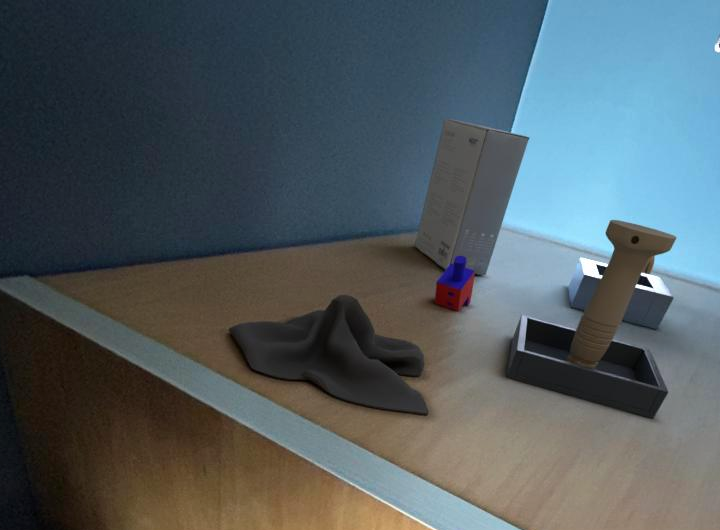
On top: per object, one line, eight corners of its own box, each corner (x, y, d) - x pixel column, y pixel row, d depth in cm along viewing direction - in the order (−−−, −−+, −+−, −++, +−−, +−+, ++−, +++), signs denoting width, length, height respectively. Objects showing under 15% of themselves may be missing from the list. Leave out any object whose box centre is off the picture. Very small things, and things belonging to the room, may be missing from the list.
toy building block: (433, 312, 80) (437, 263, 73) (447, 294, 81) (452, 244, 74) (456, 321, 79) (463, 272, 72) (470, 302, 80) (477, 252, 73)
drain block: (645, 307, 98) (660, 277, 95) (657, 329, 87) (674, 297, 84) (568, 287, 100) (580, 257, 97) (570, 307, 89) (584, 274, 86)
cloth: (195, 344, 54) (196, 278, 50) (306, 308, 67) (313, 254, 64) (397, 438, 46) (416, 368, 43) (477, 376, 60) (497, 319, 56)
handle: (556, 354, 68) (615, 218, 59) (609, 374, 66) (679, 235, 57) (545, 365, 64) (605, 221, 55) (601, 386, 62) (673, 240, 53)
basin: (637, 373, 70) (649, 349, 68) (653, 419, 59) (668, 392, 57) (512, 338, 72) (521, 314, 70) (506, 377, 61) (516, 350, 59)
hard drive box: (487, 277, 95) (531, 137, 83) (446, 272, 93) (486, 128, 81) (449, 250, 107) (484, 124, 95) (412, 246, 104) (443, 115, 92)
